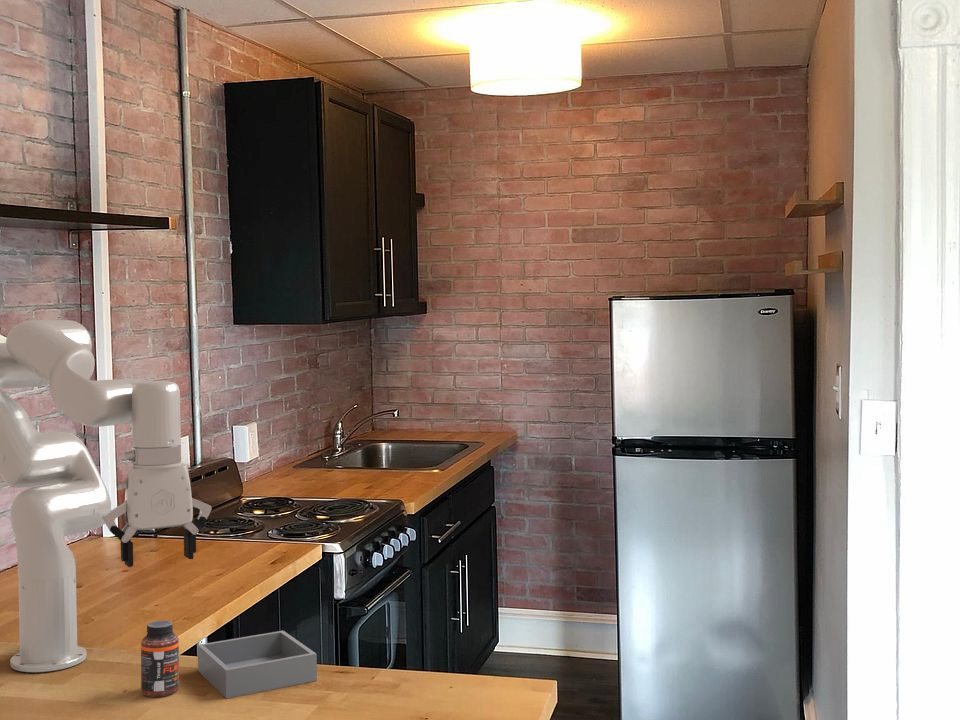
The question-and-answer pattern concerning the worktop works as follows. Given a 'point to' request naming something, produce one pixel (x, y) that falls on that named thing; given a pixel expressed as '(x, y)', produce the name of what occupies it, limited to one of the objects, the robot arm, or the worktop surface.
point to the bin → (256, 663)
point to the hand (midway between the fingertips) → (159, 561)
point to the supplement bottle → (159, 660)
